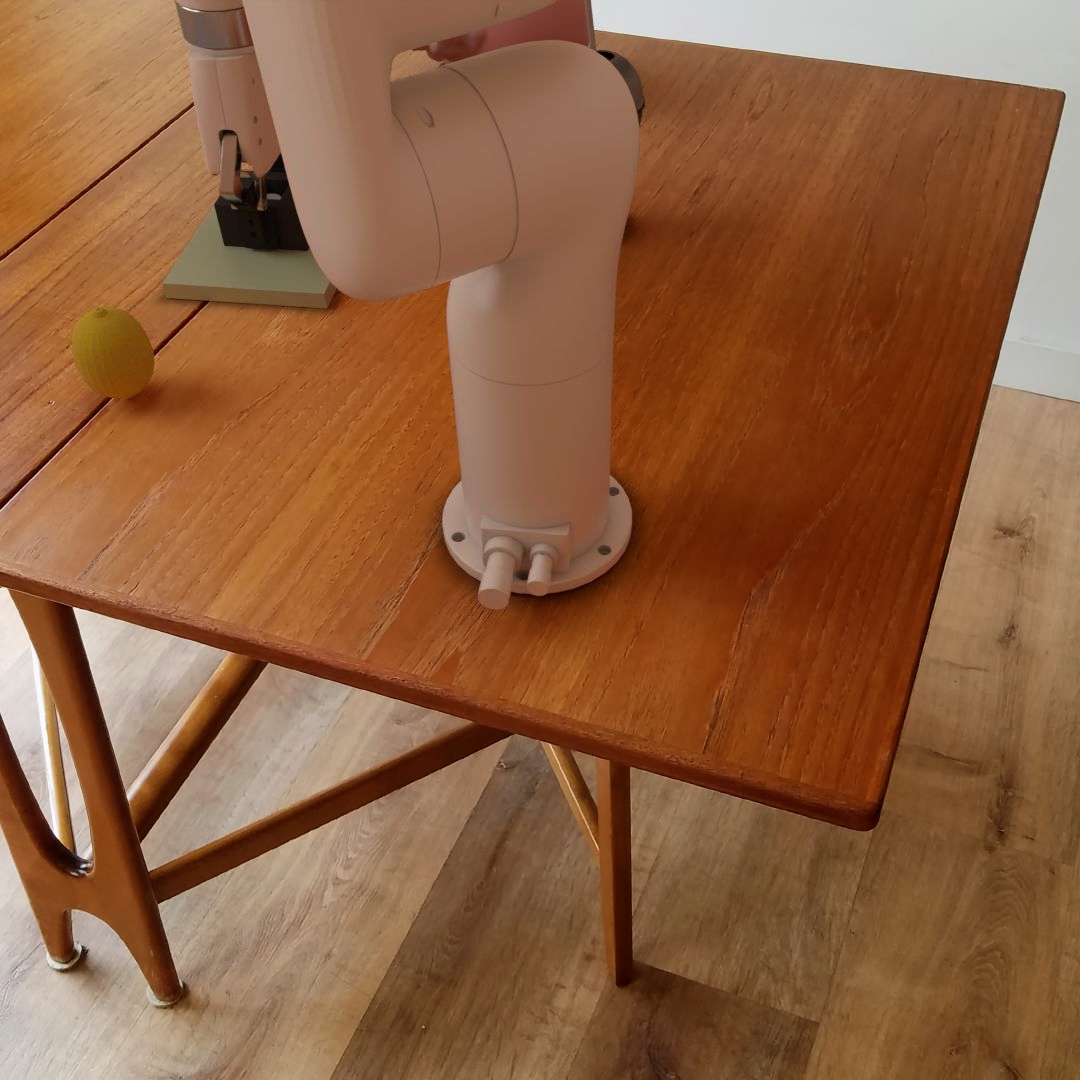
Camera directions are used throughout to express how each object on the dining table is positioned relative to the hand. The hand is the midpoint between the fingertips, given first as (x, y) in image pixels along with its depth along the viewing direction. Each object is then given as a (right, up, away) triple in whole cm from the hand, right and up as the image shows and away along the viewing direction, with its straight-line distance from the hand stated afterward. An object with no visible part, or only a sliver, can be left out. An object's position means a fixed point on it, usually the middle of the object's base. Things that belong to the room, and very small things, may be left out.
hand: (273, 224), depth 101 cm
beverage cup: (+29, 0, +2) cm, 29 cm away
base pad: (0, -2, +1) cm, 2 cm away
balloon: (+19, +17, +19) cm, 32 cm away
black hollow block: (0, 0, 0) cm, 1 cm away
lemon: (-8, -17, -13) cm, 23 cm away
